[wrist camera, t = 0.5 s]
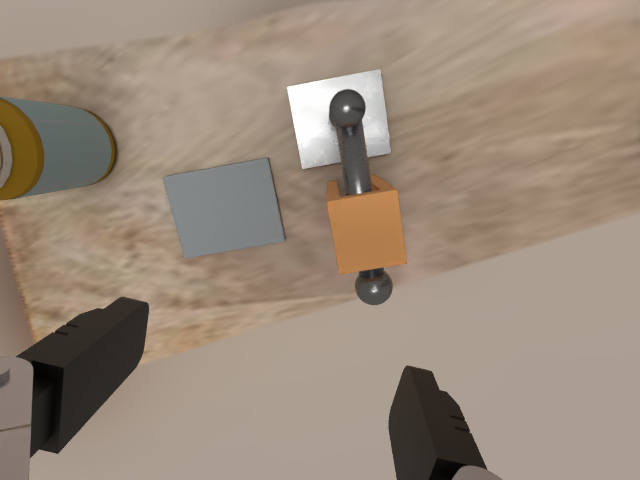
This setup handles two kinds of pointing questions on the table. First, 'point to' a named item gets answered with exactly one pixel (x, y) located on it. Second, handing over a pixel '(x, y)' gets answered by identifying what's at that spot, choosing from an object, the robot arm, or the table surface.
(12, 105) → the bottle
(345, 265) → the link
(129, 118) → the table surface
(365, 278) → the stand
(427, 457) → the robot arm
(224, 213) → the mat
